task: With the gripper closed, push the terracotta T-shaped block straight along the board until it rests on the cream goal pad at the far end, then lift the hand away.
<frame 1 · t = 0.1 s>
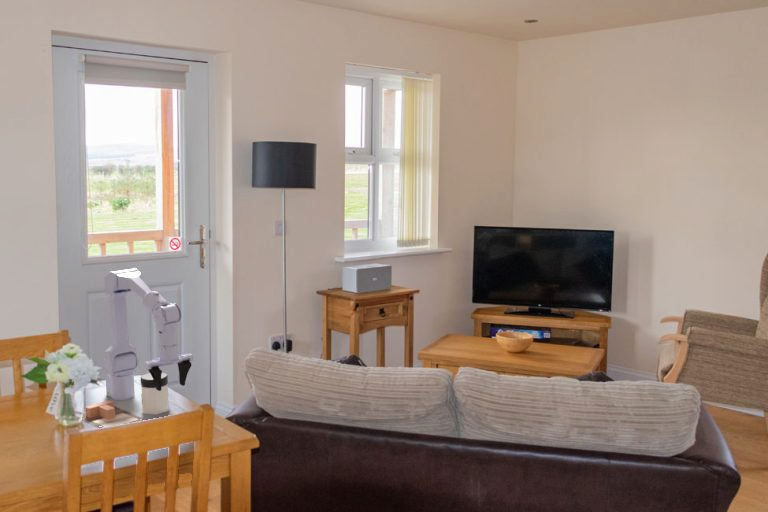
hand: (170, 387, 243), 10 cm above the table, tool pointing down, fingers open, 7 cm apart
board: (107, 420, 243), on the table
t block: (102, 414, 245), point 1 cm above the table, touching board
jar: (155, 413, 250), on the table
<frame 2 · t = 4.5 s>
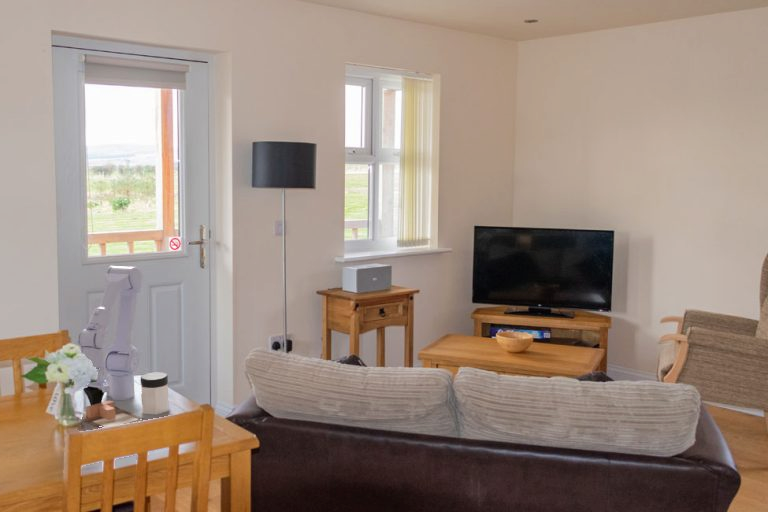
hand: (96, 409, 247), 2 cm above the table, tool pointing down, fingers closed
t block: (102, 414, 245), point 1 cm above the table, touching board, gripper
everything else where it was.
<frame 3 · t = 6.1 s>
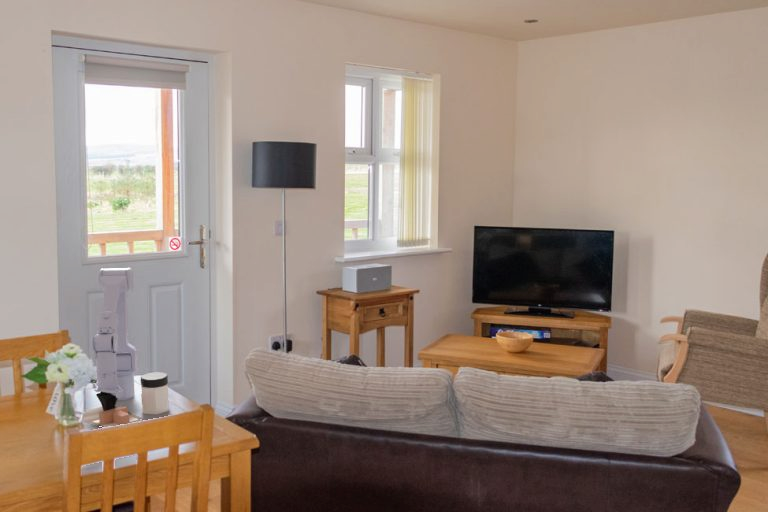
hand: (109, 415, 242), 2 cm above the table, tool pointing down, fingers closed
t block: (116, 420, 240), point 1 cm above the table, touching board, gripper
everything else where it was.
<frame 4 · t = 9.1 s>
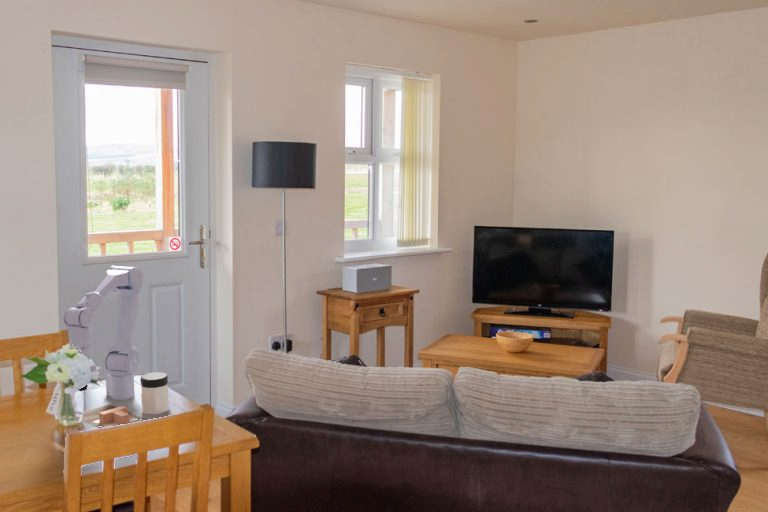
hand: (82, 390, 242), 9 cm above the table, tool pointing down, fingers closed
t block: (116, 420, 240), point 1 cm above the table, touching board
everything else where it was.
at the end: t block 0.2 cm from the target spot, point 1.0 cm above the table; t block tilted 0°; jar moved 0.2 cm from its start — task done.
